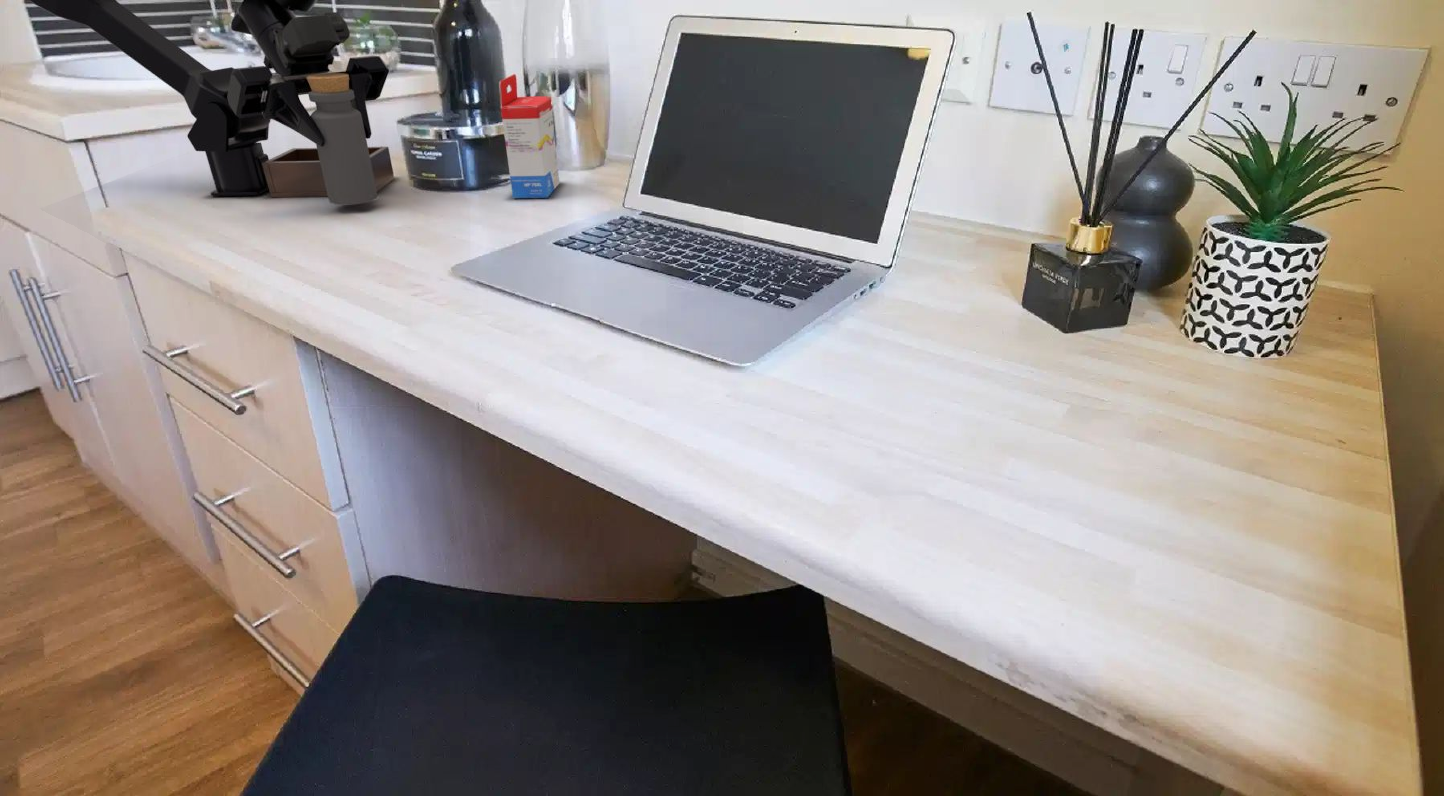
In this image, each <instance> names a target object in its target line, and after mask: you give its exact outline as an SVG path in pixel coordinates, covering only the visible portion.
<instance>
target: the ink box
mask: <svg viewBox="0 0 1444 796" xmlns="http://www.w3.org/2000/svg"><path fill="white" fill-rule="evenodd" d="M517 81H518V79H517V76H516V74H515V73H514V74H512V75H509V76H507V77H505V78H502V79H501V80H499V82H498V90H499V91H498V92H499V102H500V114H501V119H502V127H503V128H502V129H503V136H504V142H505V149H506V156H507V157H506V158H507V164H508V171H509V179H510V185H511V193H512V198H513V199H541V198H549V196H550V195H551V194H552V193H553V192H554V191H555V190H556V188H558V186H559V185H560V174H559V165H558V164H559V163H558V155H557V146H556V145H557V144H556V136H555V127H554V125H555V124H554V115H553V105H552V97H551V96H543V95H542V96H541V95H540V96H538V95H537V96H536V95H533V96H518V83H517ZM508 87H509V88H510V89H509V91H507V88H508Z"/></svg>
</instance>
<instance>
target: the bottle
mask: <svg viewBox="0 0 1444 796" xmlns="http://www.w3.org/2000/svg"><path fill="white" fill-rule="evenodd" d="M307 80H308V83H309V85H310V87H311V89H312V91H311V92H309V93H308V94H307V95H308V99H309V101H310V102H312V103H314V104H315V108H316V109H315V110H314V111H313V112H311V114H310V116H311V118H312V119H313V121H314V122H315V124H316V125H317V127H318V128H319V130H320V132H321V134H322V136H323V138H324V139H325V144H324V146H319V145H317V144H316V143H315V146H316V148H317V151H318V155H319V160H320V164H321V168H322V173H323V177H324V182H325V186H326V190H327V195H328V196H327V198H328V201H329V203H330V204H332V205H338V206H339V205H340V206H352V205H360V204H365V203H369V202H372V201H375V200H376V199H377V198H378V191H377V192H376V187H375V181H374V176H373V171H372V166H371V160H370V155H369V150H368V147H369V146H368V141H367V138H366V135H365V130H364V125H363V120H362V116H361V113H360V112H359V111H358V110H357V109H355V108H352V106H351V100H352V99H354V98H355V96H354V91H353V90H351V89H349V75H348V74H343V73H326V74H315V75H310V76H307Z"/></svg>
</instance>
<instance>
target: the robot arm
mask: <svg viewBox="0 0 1444 796" xmlns="http://www.w3.org/2000/svg"><path fill="white" fill-rule="evenodd" d="M217 1H219V2H220V1H221V0H217ZM29 2H30V3H32V4H33V5H34V6H37V7H39V8H40V9H42V10H44V11H46V12H48V13H49V14H51V15H54V16H55V17H58V18H61V19H65V20H67V21H71V22H73V23H76V24H80V25H83V26H86V27H87V28H89V29H91V30H92V31H94V33H96V34H98V35H99V36H100V37H101V38H103V39H105V40H106V41H107V42H109V43H110V44H112V45H113V46H114V47H115V48H117V49H118V50H119V51H121V52H122V53H124V54H125V55H126V56H128V57H129V58H131V60H133V61H135V62H136V63H138V64H139V65H140V66H142V67H143V68H144V69H145V70H147V71H149V72H150V73H151V74H153V76H155V77H157V78H158V79H159V80H161V81H162V82H163V83H164V84H166V85H167V86H169V87H170V88H172V89H173V90H174V91H176V92H177V93H178V94H180V95H181V96H182V97H183V98H184V101H185V104H186V105H187V107H188V109H189V112H190V114H191V115H192V116H193V118H195V121H194V123H193V125H192V126H191V128H190V130H189V131H188V133H187V135H186V137H187V138H188V140H189V142H190V145H191V146H192V147H193V149H194V150H195V151H196V152H205V156H206V159H207V162H208V166H209V170H210V173H211V176H212V180H213V183H214V185H215V186H214V187H215V190H212V191H210V196H211V197H229V196H230V197H232V196H233V197H234V196H236V197H237V196H259V195H261V194H263V193H265V192H267V191H268V190H269V187H268V184H267V180H266V176H265V172H264V169H263V165H262V163H263V162H265V161H267V160H270V158H269V155H268V154H267V153H264V149H263V145H262V141H268V140H269V133H270V132H269V129H270V124H271V121H272V120H273V121H275V122H277V123H279V124H280V125H282V126H284V127H287V128H289V129H291V130H293V131H294V132H296V133H298V134H299V135H301V136H302V137H304V138H305V139H308V140H309V141H310V142H313V143H314V144H315V145H316V144H317V145H319V146H324V144H325V139H324V138H323V136H322V134H321V132H320V130H319V128H318V127H317V125H316V124H315V122H314V121H313V119H312V118H311V114H310V113H309V112H308V110H307V109H306V107H305V105H304V104H303V103H302V101H301V99H300V97H299V96H302V95H303V96H304V95H308V93H309V92H311V91H312V89H311V87H310V85H309V83H308V80H307V76H310V75H315V74H326V73H343V74H348V75H349V89H351V90H353V91H354V96H355V98H354V99H352V100H351V106H352V108H355V109H357V110H358V111H359V112H360V113H361V116H362V120H363V125H364V130H365V135H366V140H367V139H371V137H372V129H371V128H372V127H371V123H370V118H369V114H368V110H367V103H366V102H369V101H375V100H378V99H379V98H380V97H381V94H382V92H383V89H384V86H385V84H386V81H387V78H388V76H389V73H390V69H389V68H388V65H387V64H386V62H385V61H384V59H382V57H380V56H379V55H365V56H355V57H349V59H348V62H347V65H346V68H345V70H344V71H333V70H330V68H329V66H330V65H333V64H334V60H335V56H334V54H333V53H332V51H333V50H334V49H335V48H336V47H338V46H340V45H341V44H344V43H345V42H346V41H347V40H348V39H349V38H350V35H351V31H350V29H349V27H348V24H347V21H345V19H344V18H343V16H342V15H341V14H340V12H339V11H336V12H325V13H324V15H323V14H321V15H304V16H296V15H295V12H302V13H303V12H305V13H308V12H310V11H311V10H313V9H312V8H313V7H315V5H316V3H317V2H318V0H243V1H241V3H240V5H239V6H238V8H235V9H234V11H233V12H234V13H233V15H234V16H233V18H232V19H231V22H230V29H231V31H233V32H236V33H241V34H246V35H251V36H252V38H254V40H255V42H256V43H257V45H258V46H259V48H260V50H261V52H262V53H263V55H264V57H263V62H262V63H263V64H264V65H260V66H259V65H258V66H249V67H248V66H247V67H237V68H234V67H233V66H232V67H231V66H230V67H224V68H219V69H210V68H208V67H207V66H205V65H204V64H202V63H201V62H199V60H197V59H196V58H194V57H193V56H191V55H190V54H189V53H187V52H186V51H185V50H183V49H182V48H181V47H180V46H178V45H176V44H175V43H174V42H173V41H172V40H170V39H169V38H167V37H166V36H165V35H163V34H162V33H160V32H159V31H158V30H156V29H155V28H154V27H152V26H151V25H150V24H148V23H147V22H146V21H144V20H143V19H141V18H140V17H139V16H137V15H136V14H134V13H133V12H132V11H131V10H130V9H128V8H126V7H125V6H124V5H123V4H121V3H120V2H119V1H117V0H29ZM271 70H273V71H274V72H272V71H271Z"/></svg>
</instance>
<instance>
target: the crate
mask: <svg viewBox="0 0 1444 796" xmlns="http://www.w3.org/2000/svg"><path fill="white" fill-rule="evenodd" d="M368 150H369V155H370V160H371V166H372V171H373V176H374V181H375V187H376V192H377V193H378V191H380V190H382V189H383V188H384V187H385V186H387V185H388V184H390V183H391V182H393V180H395V175H394V169H393V165H392V159H391V154H390V149H389V146H368ZM262 165H263V169H264V172H265V176H266V180H267V184H268V187H269V189H268V190H269V195H270V197H271V198H297V197H298V198H301V197H302V198H305V197H306V198H307V197H308V198H310V197H328V195H327V190H326V186H325V182H324V177H323V173H322V168H321V164H320V160H319V155H318V151H317V147H293V148H290V149H288V150H286V151H284V152H283V153H280V154H279V155H275V156H273V157H272V158H269V160H267V161H265V162H263V163H262Z"/></svg>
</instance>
